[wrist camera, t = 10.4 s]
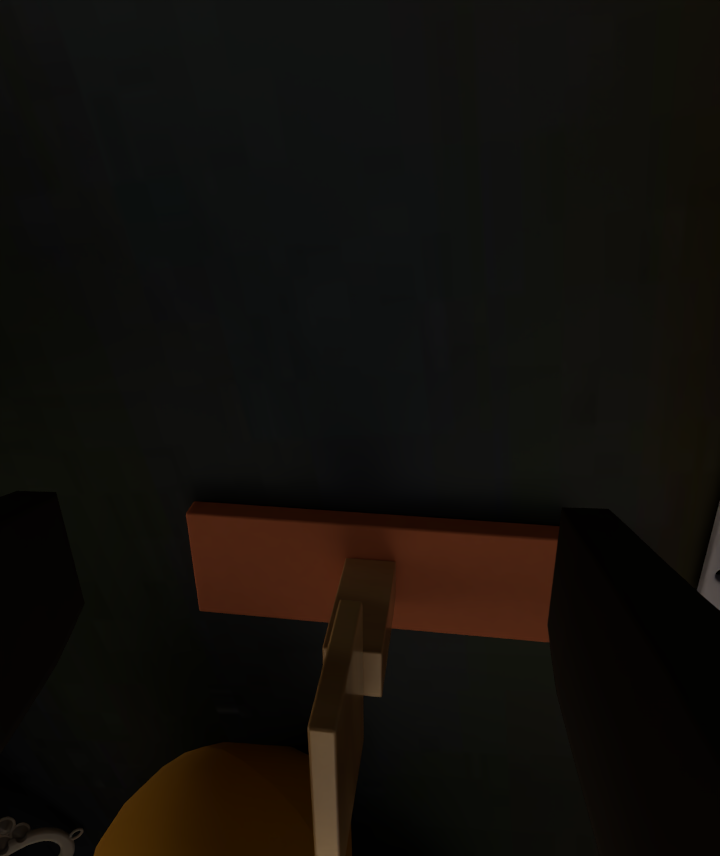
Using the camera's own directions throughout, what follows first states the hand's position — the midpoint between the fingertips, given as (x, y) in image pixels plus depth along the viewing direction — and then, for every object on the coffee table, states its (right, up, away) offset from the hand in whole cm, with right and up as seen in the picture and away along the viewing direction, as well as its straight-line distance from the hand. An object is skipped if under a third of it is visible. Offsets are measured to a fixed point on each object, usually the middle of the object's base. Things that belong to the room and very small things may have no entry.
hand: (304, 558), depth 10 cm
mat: (+1, -3, +13) cm, 13 cm away
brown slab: (+1, -3, +12) cm, 12 cm away
